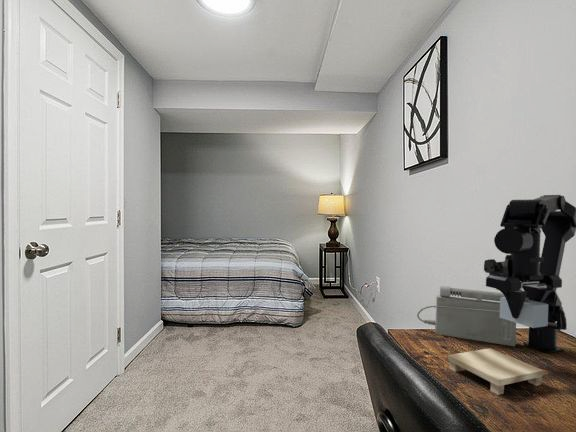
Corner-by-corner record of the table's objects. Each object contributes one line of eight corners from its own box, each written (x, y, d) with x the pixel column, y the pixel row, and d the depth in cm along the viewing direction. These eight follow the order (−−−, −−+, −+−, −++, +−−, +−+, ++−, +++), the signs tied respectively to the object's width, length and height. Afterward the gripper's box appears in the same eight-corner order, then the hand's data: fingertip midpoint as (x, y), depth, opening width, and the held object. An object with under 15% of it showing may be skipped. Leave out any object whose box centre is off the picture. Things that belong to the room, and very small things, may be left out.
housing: (499, 317, 84) (500, 294, 84) (513, 315, 86) (514, 292, 86) (533, 327, 77) (533, 302, 76) (547, 325, 78) (548, 300, 78)
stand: (489, 360, 81) (489, 348, 81) (543, 384, 70) (543, 370, 70) (448, 368, 76) (448, 355, 76) (498, 395, 65) (498, 380, 65)
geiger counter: (515, 291, 94) (418, 281, 105) (519, 296, 88) (417, 285, 99) (513, 341, 94) (417, 327, 105) (518, 349, 88) (415, 333, 99)
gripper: (518, 248, 92) (516, 305, 92) (467, 248, 85) (465, 310, 85) (564, 252, 82) (562, 317, 82) (510, 254, 75) (508, 324, 75)
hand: (522, 317), depth 81 cm, fingers closed on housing, 5 cm apart
